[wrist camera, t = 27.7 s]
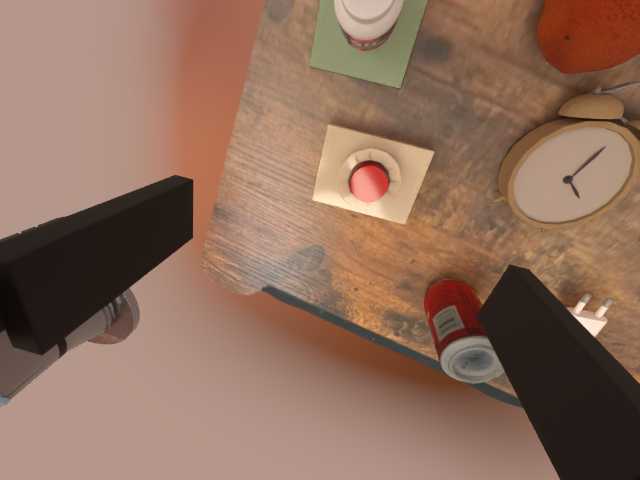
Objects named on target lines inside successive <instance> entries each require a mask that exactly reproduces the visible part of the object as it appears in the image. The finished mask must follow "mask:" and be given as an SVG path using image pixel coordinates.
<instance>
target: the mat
mask: <svg viewBox="0 0 640 480" xmlns="http://www.w3.org/2000/svg"><path fill="white" fill-rule="evenodd" d="M427 2H428V0H404V3H403V7H402V10H401V13H400V15H399V18H398V20H397V22H396V25H395V28H394V30H393V32H392V34H391V36H390V37H389V39H388V40H387V41H386V42H385V43H384V44H383V45H382V46H381V47H379V48H378V49H376V50H373V51H370V52H361V51H358V50H356V49H354V48H352V47H351V46H350V45H349V44H348V43H347V41H346V40H345V38H344V36H343V34H342V32H341V28H340V26H339V22H338V20H337V17H336V13H335V7H334V0H320V5H319V11H318V17H317V23H316V28H315V34H314V40H313V46H312V52H311V57H310V63H309V66H310V67H314V68H318V69H322V70H326V71H330V72H334V73H338V74H342V75H346V76H350V77H354V78H358V79H362V80H366V81H370V82H374V83H378V84H382V85H386V86H390V87H394V88H398V89H400V87H401V84H402V81H403V78H404V75H405V71H406V68H407V65H408V62H409V59H410V56H411V52H412V49H413V46H414V43H415V40H416V37H417V33H418V30H419V27H420V24H421V21H422V17H423V14H424V11H425V8H426V5H427Z"/></svg>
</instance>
